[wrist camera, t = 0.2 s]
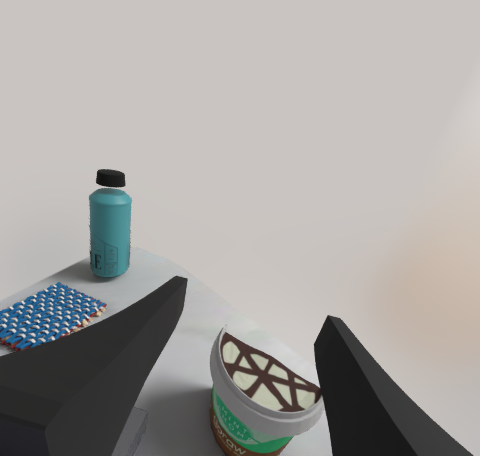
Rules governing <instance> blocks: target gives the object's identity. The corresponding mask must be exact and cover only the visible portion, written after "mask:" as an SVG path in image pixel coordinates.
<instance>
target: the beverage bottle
mask: <svg viewBox="0 0 480 456" xmlns="http://www.w3.org/2000/svg"><path fill="white" fill-rule="evenodd" d="M96 183H97V184H99V185H102V186H106V187H124V186H125V175H124V173H122V172H120V171H115V170H109V169H107V170H106V169H101V170H98V171H97V178H96ZM89 200H90V236H91V237H90V238H91V240H90V241H91V243H90V244H91V251H90V257H91V263H90V264H91V265H90V266H91V267H90V268H92V271H93V273H94V274H96V275H98V276H101V277H115V276H119V275H121V274H123V273H125V272H126V271H127V269H128V267H129V262H130V261H129V260H130V218H131V202H132V199H131V198H130V196H129V195H128V194H126V193H125V192H124V191H122V190H118V189H111V188H102V189H98V190H96V191H95V192H93V193H92V194H91V195H90V196H89Z"/></svg>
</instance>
